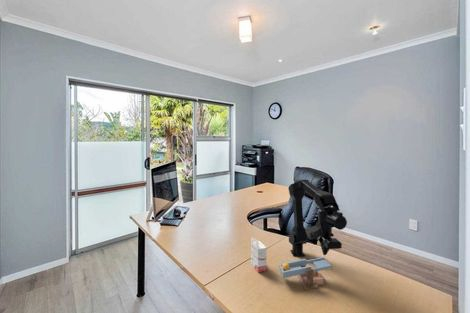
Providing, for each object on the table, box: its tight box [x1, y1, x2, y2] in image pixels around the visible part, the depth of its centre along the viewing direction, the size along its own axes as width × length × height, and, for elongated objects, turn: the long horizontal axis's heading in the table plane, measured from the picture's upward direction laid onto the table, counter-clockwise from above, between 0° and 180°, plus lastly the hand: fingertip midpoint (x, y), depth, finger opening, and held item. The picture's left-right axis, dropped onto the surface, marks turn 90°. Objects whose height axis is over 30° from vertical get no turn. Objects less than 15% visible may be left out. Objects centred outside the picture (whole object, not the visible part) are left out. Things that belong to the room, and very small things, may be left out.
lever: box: [278, 256, 333, 279], centre depth 101 cm, size 22×7×3 cm, turn 92°
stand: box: [299, 258, 319, 290], centre depth 101 cm, size 6×11×8 cm, turn 3°
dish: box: [297, 271, 326, 286], centre depth 102 cm, size 10×7×3 cm
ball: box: [282, 262, 290, 271], centre depth 101 cm, size 4×4×4 cm
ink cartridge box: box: [250, 236, 268, 273], centre depth 112 cm, size 9×5×15 cm, turn 21°
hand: (324, 254), depth 102 cm, fingers closed
